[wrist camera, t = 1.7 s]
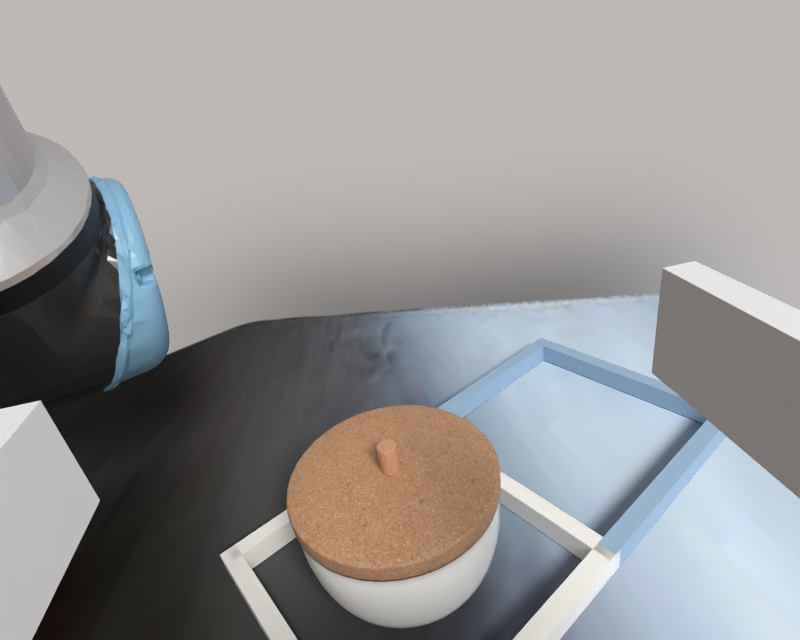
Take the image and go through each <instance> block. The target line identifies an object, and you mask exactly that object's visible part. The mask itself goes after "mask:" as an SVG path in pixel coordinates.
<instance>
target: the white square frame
mask: <svg viewBox="0 0 800 640" xmlns="http://www.w3.org/2000/svg"><path fill="white" fill-rule="evenodd" d="M500 477H501V493H500V499H499V500H500V503H501V504H502V505H504V506H505V507H506V508H508V509H509V510H511V511H512V512H514V513H515V514H516V515H518V516H519V517H521V518H522V519H524V520H525V521H527V522H528V523H529V524H531V525H532V526H534V527H535V528H537V529H538V530H539V531H541V532H542V533H544V534H545V535H547V536H548V537H549V538H551V539H552V540H554V541H555V542H557V543H558V544H560V545H561V546H562V547H564V548H565V549H567V550H568V551H570V552H571V553H572V554H574V555H575V556H577V557H578V558H580V559H581V560H582V562H581V563H580V564H579V565H578V566H577V567H576V568H575V570H574V571H573V572H572V573H571V574H570V575H569V576H568V578H567V579H566V580H565V581H564V582H563V583H562V584H561V585H560V587H559V588H558V589H557V590H556V591H555V592H554V593H553V594H552V596H551V597H550V598H549V599H548V600H547V601H546V602H545V604H544V605H543V606H542V607H541V608H540V609H539V610H538V611H537V613H536V614H535V615H534V616H533V617H532V618H531V619H530V621H529V622H528V623H527V624H526V625H525V626H524V627H523V628H522V630H521V631H520V632H519V633H518V634H517V635H516V636H515V638H514V639H513V640H560V639H561V638H562V636H563V635H564V634H565V633H566V631H567V630H568V629H569V628H570V627H571V625H572V624H573V623H574V622H575V620H576V619H577V618H578V617H579V615H580V614H581V613H582V612H583V611H584V609H585V608H586V607H587V606H588V604H589V603H590V602H591V601H592V600H593V598H594V597H595V596H596V595H597V593H598V592H599V591H600V590H601V589H602V587H603V586H604V585H605V584H606V582H607V581H608V580H609V579H610V577H611V576H612V575H613V574H614V573H615V571H616V570H617V569H618V568H619V564H620V553H621V549H620V550H619V551H618V552H617V554H614V553H613V552H611V551H610V550H608V549H607V548H605V547H604V546H602V545H601V544H599V543H598V542H599V541H600V540H601V539H602V538H603V537H602V536H601V535H599V534H598V533H596V532H595V531H593V530H591V529H590V528H588V527H587V526H585V525H584V524H582V523H580V522H579V521H577V520H576V519H574V518H573V517H571V516H569V515H568V514H566V513H565V512H563V511H562V510H560V509H558V508H557V507H555V506H554V505H552V504H551V503H549V502H547V501H546V500H544V499H543V498H541V497H540V496H538V495H536V494H535V493H533V492H532V491H530V490H529V489H527V488H526V487H524V486H522V485H521V484H519V483H518V482H516V481H515V480H513V479H511V478H510V477H508V476H507V475H505V474H504V473H502V472H500ZM294 538H296V536H295V534H294V531H293V528H292V526H291V523H290V520H289V517H288V513H287V510H285V511H284V512H282V513H281V514H279V515H278V516H276V517H275V518H273V519H272V520H271V521H269V522H268V523H266V524H265V525H263V526H262V527H260V528H259V529H257V530H256V531H254V532H253V533H251V534H250V535H248V536H247V537H245V538H244V539H242V540H241V541H239V542H238V543H236V544H235V545H233V546H232V547H231V548H229V549H228V550H226V551H225V552H223V553H222V554H220V557H221V559H222V561H223V563H224V565H225V567H226V569H227V571H228V573H229V575H230V576H231V578H232V580H233V581H234V583H235V585H236V586H237V588H238V590H239V591H240V593H241V595H242V597H243V598H244V600H245V602H246V603H247V605H248V607H249V608H250V610H251V612H252V613H253V615H254V617H255V618H256V620H257V622H258V624H259V625H260V627H261V629H262V630H263V632H264V634H265V635H266V637H267V639H268V640H297V638H296V637H295V635H294V633H293V632H292V630H291V629H290V627H289V626H288V624H287V623H286V621H285V620H284V618H283V617H282V615H281V613H280V612H279V610H278V609H277V607H276V606H275V604H274V603H273V601H272V600H271V598H270V597H269V595H268V594H267V592H266V590H265V589H264V587H263V586H262V584H261V583H260V581H259V580H258V578H257V577H256V575H255V574H254V572H253V570H252V569H253V568H254V567H255V566H257V565H258V564H260V563H261V562H262V561H264V560H265V559H267V558H268V557H269V556H271V555H272V554H274V553H275V552H276V551H278V550H279V549H281V548H282V547H283V546H285V545H286V544H287V543H289V542H290V541H292V540H293V539H294Z"/></svg>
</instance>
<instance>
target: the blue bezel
mask: <svg viewBox="0 0 800 640" xmlns="http://www.w3.org/2000/svg"><path fill="white" fill-rule="evenodd" d="M543 360H544V361H547V362H549V363H552V364H554V365H557V366H559V367H562V368H564V369H567V370H569V371H572V372H575V373H577V374H580V375H582V376H585V377H587V378H590V379H592V380H595V381H597V382H600V383H602V384H605V385H607V386H610V387H612V388H615V389H617V390H620V391H622V392H625V393H627V394H630V395H632V396H635V397H638V398H640V399H643V400H645V401H648V402H650V403H653V404H655V405H658V406H660V407H663V408H665V409H668V410H670V411H673V412H675V413H678V414H680V415H683V416H685V417H688V418H690V419H693V420H695V421H698V422H701V423H703V425H702V426H701V427H700V428H699V429H698V430H697V431H696V433H695V434H694V435H693V436H692V437H691V438H690V439H689V441H688V442H687V443H686V444H685V445H684V446H683V447H682V448H681V450H680V451H679V452H678V453H677V454H676V455H675V456H674V458H673V459H672V460H671V461H670V462H669V463H668V464H667V465H666V467H665V468H664V469H663V470H662V471H661V472H660V473H659V474H658V476H657V477H656V478H655V479H654V480H653V481H652V482H651V484H650V485H649V486H648V487H647V488H646V489H645V490H644V491H643V493H642V494H641V495H640V496H639V497H638V498H637V499H636V501H635V502H634V503H633V504H632V505H631V506H630V507H629V508H628V510H627V511H626V512H625V513H624V514H623V515H622V516H621V518H620V519H619V520H618V521H617V522H616V523H615V524H614V525H613V527H612V528H611V529H610V530H609V531H608V532H607V533H606V534H605V536H604V537H603V538H602V539H601V540H600V541H599V542H598V543H599V544H601V545H602V546H604V547H605V548H607V549H608V550H610V551H611V552H613V553H614V554H617V552H618V551H619V550H620V549H621V553H620V564H619V566H620V565H621V564H622V563H623V562H624V560H625V559H626V558H627V557H628V555H629V554H630V553H631V552H632V551H633V549H634V548H635V547H636V546H637V544H638V543H639V542H640V541H641V540H642V538H643V537H644V536H645V535H646V533H647V532H648V531H649V530H650V528H651V527H652V526H653V525H654V524H655V522H656V521H657V520H658V519H659V517H660V516H661V515H662V514H663V513H664V511H665V510H666V509H667V508H668V506H669V505H670V504H671V503H672V502H673V500H674V499H675V498H676V497H677V495H678V494H679V493H680V492H681V490H682V489H683V488H684V487H685V486H686V484H687V483H688V482H689V481H690V479H691V478H692V477H693V476H694V475H695V473H696V472H697V471H698V470H699V468H700V467H701V466H702V465H703V464H704V462H705V461H706V460H707V459H708V457H709V456H710V455H711V454H712V452H713V451H714V450H715V449H716V448H717V446H718V445H719V444H720V443H721V441H722V440H723V439H724V438H725V437H726V435H725V434H723V433H722V432H721V431H720V430H719V429H718V428H716V427H715V426H714V425H713V424H712V423H710V422H709V421H708V420H707V419H706V418H705V417H703V416H702V415H701V414H700V413H699V412H698V411H696V410H695V409H694V408H693V407H692V406H690V405H689V404H688V403H687V402H686V401H685V400H683V399H682V398H681V397H680V396H679V395H678V394H676V393H675V392H674V391H673V390H672V389H671V388H669V387H668V386H667V385H666V384H665V383H663V382H662V381H659V380H656V379H653V378H650V377H648V376H645V375H642V374H639V373H637V372H634V371H631V370H628V369H625V368H623V367H620V366H617V365H614V364H612V363H609V362H606V361H603V360H600V359H598V358H595V357H592V356H589V355H587V354H584V353H581V352H578V351H575V350H573V349H570V348H567V347H564V346H562V345H559V344H556V343H553V342H550V341H548V340H545V339H542V338H540V339H539V340H537V341H536V342H534V343H533V344H531V345H530V346H528V347H527V348H525V349H524V350H522V351H521V352H519V353H518V354H516V355H515V356H513V357H512V358H510V359H509V360H507V361H506V362H505V363H503V364H502V365H500V366H499V367H497V368H496V369H494V370H493V371H491V372H490V373H488V374H487V375H485V376H484V377H482V378H481V379H479V380H478V381H476V382H475V383H473V384H472V385H470V386H469V387H467V388H466V389H465V390H463V391H462V392H460V393H459V394H457V395H456V396H454V397H453V398H451V399H450V400H448V401H447V402H445V403H444V404H442V405H441V406H439V407H438V408H439V409H442V410H445V411H448V412H451V413H454V414H456V415H458V416H460V417H462V418H463V417H465V416H466V415H468V414H469V413H470V412H472V411H473V410H475V409H476V408H477V407H479V406H480V405H482V404H483V403H484V402H486V401H487V400H489V399H490V398H491V397H493V396H494V395H496V394H497V393H498V392H500V391H501V390H503V389H504V388H505V387H507V386H508V385H510V384H511V383H512V382H514V381H515V380H517V379H518V378H519V377H521V376H522V375H524V374H525V373H526V372H528V371H529V370H530V369H532V368H533V367H535V366H536V365H537V364H539V363H540V362H542V361H543Z"/></svg>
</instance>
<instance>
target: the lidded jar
mask: <svg viewBox="0 0 800 640" xmlns="http://www.w3.org/2000/svg"><path fill="white" fill-rule="evenodd" d="M500 493H501V477H500V467H499V462H498V458H497V455H496V453H495V451H494V448H493V446H492V444H491V443H490V442H489V440H488V439H487V438H486V436H485V435H484V434H483V433H482V432H481V431H480V430H479V429H478V428H477V427H476V426H474V425H473V424H471V423H470V422H468V421H467V420H466V419H464V418H462V417H460V416H458V415H456V414H454V413H451V412H448V411H445V410H442V409H439V408H433V407H428V406H419V405H399V406H389V407H383V408H379V409H374V410H371V411H367V412H364V413H361V414H358V415H356V416H353V417H351V418H349V419H347V420H345V421H343V422H341V423H339V424H337V425H335V426H334V427H332V428H331V429H330V430H328V431H327V432H325V433H324V434H323V435H321V436H320V437H319V438H318V439H317V440H316V441H314V442H313V443H312V444H311V446H310V447H309V448H308V449H307V450H306V451H305V453H304V454H303V455H302V457H301V458H300V460H299V461H298V463H297V464H296V466H295V469H294V471H293V473H292V475H291V477H290V481H289V484H288V488H287V496H286V506H287V513H288V517H289V520H290V523H291V526H292V528H293V531H294V534H295V536H296V538H297V540H298V541H299V543H300V545H301V546H302V548H303V551H304V554H305V556H306V558H307V561H308V563H309V565H310V567H311V569H312V570H313V572H314V573H315V575H316V577H317V578H318V580H319V581H320V583H321V585H322V586H323V588H324V589H325V590H326V591H327V592H328V593H329V595H330V596H331V597H332V598H333V599H334V600H335V601H336V602H337V603H338V604H339V605H340V606H341V607H343V608H344V609H346V610H347V611H348V612H350V613H351V614H353V615H355V616H356V617H358V618H360V619H362V620H364V621H366V622H369V623H371V624H375V625H379V626H383V627H391V628H411V627H418V626H422V625H426V624H430V623H432V622H435V621H437V620H439V619H442V618H444V617H445V616H447V615H449V614H450V613H452V612H453V611H455V610H457V609H458V608H459V607H460V606H461V605H462V604H464V603H465V602H466V601H467V600H468V599H469V598H470V597H471V595H472V594H473V593H474V592H475V591H476V590H477V588H478V586H479V585H480V583H481V582H482V580H483V578H484V577H485V575H486V573H487V571H488V569H489V567H490V564H491V561H492V559H493V555H494V552H495V548H496V543H497V538H498V532H499V523H500V500H499V499H500Z"/></svg>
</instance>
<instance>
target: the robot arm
mask: <svg viewBox="0 0 800 640" xmlns="http://www.w3.org/2000/svg"><path fill="white" fill-rule="evenodd" d="M168 348H169V331H168V325H167V319H166V315H165V309H164V305H163V301H162V297H161V294H160V290H159V286H158V283H157V280H156V278H155V276H154V274H153V267H152V264H151V261H150V255H149V251H148V248H147V244H146V241H145V238H144V235H143V232H142V229H141V226H140V223H139V220H138V218H137V215H136V212H135V210H134V207H133V205H132V202H131V200H130V198H129V196H128V193H127V192H126V190H125V188H124V187H123V185H122V184H121V183H120V182H118V181H117V180H115V179H109V178H105V179H101V178H98V177H91V178H88V176H87V174H86V172H85V170H84V169H83V167H82V166H81V165H80V163H79V162H78V161H77V159H76V158H75V157H74V156H73V155H72V154H71V153H70V152H69V151H68V150H66V149H65V148H63V147H62V146H60V145H59V144H57V143H55V142H53V141H51V140H49V139H47V138H44V137H41V136H39V135H36V134H33V133H30V132H26V131H25V130H24V129H23V127H22V125H21V123H20V121H19V120H18V118H17V116H16V114H15V112H14V110H13V108H12V107H11V105H10V103H9V101H8V99H7V97H6V96H5V94H4V92H3V90H2V88H1V86H0V640H32V638H33V636H34V634H35V632H36V630H37V628H38V626H39V624H40V622H41V620H42V618H43V616H44V614H45V612H46V610H47V608H48V606H49V604H50V602H51V600H52V598H53V596H54V593H55V591H56V589H57V587H58V585H59V583H60V581H61V579H62V577H63V575H64V573H65V571H66V569H67V567H68V565H69V563H70V561H71V559H72V557H73V555H74V553H75V551H76V548H77V546H78V544H79V542H80V540H81V538H82V536H83V534H84V532H85V530H86V528H87V526H88V524H89V522H90V520H91V518H92V516H93V514H94V512H95V510H96V508H97V505H98V503H99V501H100V500H99V498H98V496H97V494H96V493H95V491H94V489H93V488H92V486H91V484H90V483H89V481H88V479H87V478H86V476H85V474H84V473H83V471H82V469H81V468H80V466H79V464H78V463H77V461H76V459H75V458H74V456H73V454H72V452H71V451H70V449H69V447H68V446H67V444H66V442H65V441H64V439H63V437H62V436H61V434H60V432H59V431H58V429H57V427H56V426H55V424H54V422H53V421H52V419H51V417H50V415H49V414H48V412H47V410H50V409H53V408H55V407H58V406H61V405H64V404H67V403H70V402H72V401H75V400H78V399H81V398H84V397H87V396H89V395H92V394H95V393H98V392H101V391H103V392H105V391H108V390H112V389H113V388H115V387H116V386H117V385H119V383H120V382H123V381H125V380H128V379H130V378H132V377H135V376H137V375H139V374H142V373H144V372H147V371H149V370H151V369H153V368H155V367H156V366H158V365H159V364H160V363H161V362H162V361H163V359H164V358H165V356H166V354H167V352H168ZM652 373H653V374H654V375H655V376H656V377H658V378H659V379H660V380H661V381H662V382H663V383H665V384H666V385H667V386H668V387H669V388H671V389H672V390H673V391H674V392H675V393H676V394H678V395H679V396H680V397H681V398H682V399H683V400H685V401H686V402H687V403H688V404H689V405H690V406H692V407H693V408H694V409H695V410H696V411H698V412H699V413H700V414H701V415H702V416H703V417H705V418H706V419H707V420H708V421H709V422H710V423H712V424H713V425H714V426H715V427H716V428H718V429H719V430H720V431H721V432H722V433H723V434H725V435H726V436H727V437H728V438H729V439H730V440H732V441H733V442H734V443H735V444H736V445H738V446H739V447H740V448H741V449H742V450H743V451H745V452H746V453H747V454H748V455H749V456H750V457H752V458H753V459H754V460H755V461H756V462H758V463H759V464H760V465H761V466H762V467H763V468H765V469H766V470H767V471H768V472H769V473H770V474H772V475H773V476H774V477H775V478H776V479H778V480H779V481H780V482H781V483H782V484H783V485H785V486H786V487H787V488H788V489H789V490H790V491H792V492H793V493H794V494H795V495H796V496H797V497H799V498H800V310H798V309H796V308H794V307H792V306H790V305H787V304H785V303H783V302H781V301H779V300H777V299H775V298H773V297H770V296H768V295H766V294H764V293H762V292H760V291H758V290H755V289H753V288H751V287H749V286H747V285H745V284H743V283H741V282H738V281H736V280H734V279H732V278H730V277H728V276H726V275H723V274H721V273H719V272H717V271H715V270H713V269H711V268H709V267H706V266H704V265H702V264H700V263H698V262H696V261H693V262H688V263H684V264H679V265H674V266H670V267H665V268H663V269H662V278H661V288H660V298H659V307H658V317H657V327H656V337H655V347H654V356H653V366H652Z"/></svg>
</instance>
